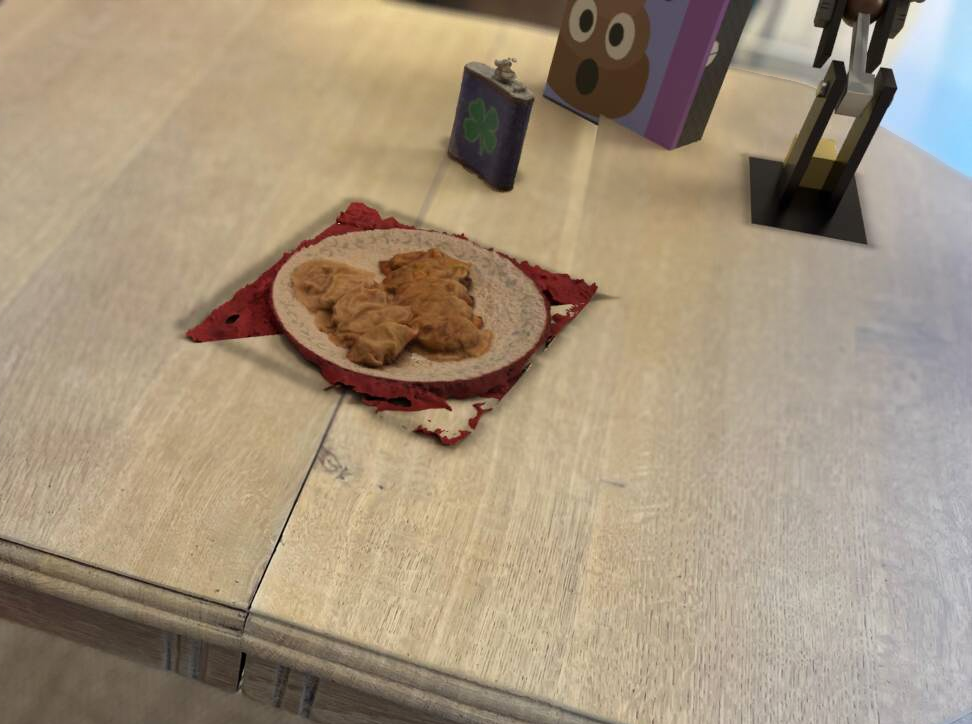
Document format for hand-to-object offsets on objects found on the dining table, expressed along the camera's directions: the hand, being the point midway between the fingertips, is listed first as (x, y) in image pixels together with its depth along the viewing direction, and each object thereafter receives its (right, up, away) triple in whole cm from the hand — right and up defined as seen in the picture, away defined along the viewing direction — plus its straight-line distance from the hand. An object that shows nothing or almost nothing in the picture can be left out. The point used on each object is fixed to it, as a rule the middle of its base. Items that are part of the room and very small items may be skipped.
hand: (846, 64), depth 98 cm
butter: (-1, -9, +5) cm, 10 cm away
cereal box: (-16, +1, +15) cm, 22 cm away
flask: (-33, -8, +6) cm, 34 cm away
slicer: (-3, -12, +3) cm, 13 cm away
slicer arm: (0, 0, -1) cm, 1 cm away
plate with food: (-44, -27, -12) cm, 53 cm away
